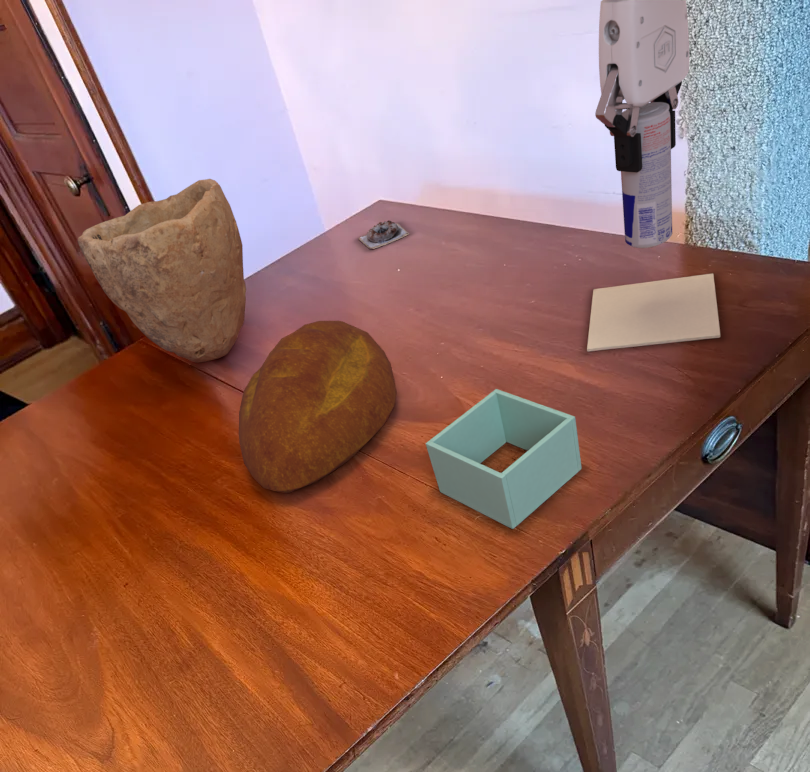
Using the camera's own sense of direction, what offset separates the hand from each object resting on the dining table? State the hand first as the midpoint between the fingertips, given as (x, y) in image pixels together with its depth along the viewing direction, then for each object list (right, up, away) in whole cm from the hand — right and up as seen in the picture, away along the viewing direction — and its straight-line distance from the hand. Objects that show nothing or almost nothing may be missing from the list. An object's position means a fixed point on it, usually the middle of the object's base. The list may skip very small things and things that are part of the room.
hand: (645, 157), depth 87 cm
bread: (-39, -29, +15) cm, 50 cm away
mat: (+5, -14, +13) cm, 20 cm away
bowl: (-59, -14, +39) cm, 72 cm away
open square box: (-16, -38, -4) cm, 41 cm away
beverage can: (+3, -7, +7) cm, 10 cm away
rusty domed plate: (-32, +14, +57) cm, 67 cm away
